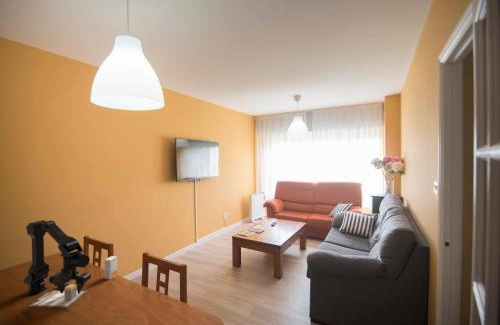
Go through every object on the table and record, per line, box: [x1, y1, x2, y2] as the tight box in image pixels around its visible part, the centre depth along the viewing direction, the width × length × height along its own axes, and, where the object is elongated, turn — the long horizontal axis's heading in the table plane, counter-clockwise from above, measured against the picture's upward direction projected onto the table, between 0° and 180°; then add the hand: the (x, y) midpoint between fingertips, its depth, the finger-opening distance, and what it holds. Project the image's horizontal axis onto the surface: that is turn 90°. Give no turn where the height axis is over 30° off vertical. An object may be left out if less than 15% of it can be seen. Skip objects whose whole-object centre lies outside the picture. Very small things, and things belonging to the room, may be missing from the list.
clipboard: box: [28, 289, 89, 309], centre depth 123 cm, size 20×14×1 cm
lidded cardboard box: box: [64, 283, 77, 300], centre depth 122 cm, size 4×4×6 cm
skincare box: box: [104, 255, 118, 280], centre depth 145 cm, size 6×4×12 cm
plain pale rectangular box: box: [64, 280, 76, 289], centre depth 134 cm, size 7×3×3 cm, turn 98°
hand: (70, 293), depth 122 cm, fingers open, 9 cm apart
